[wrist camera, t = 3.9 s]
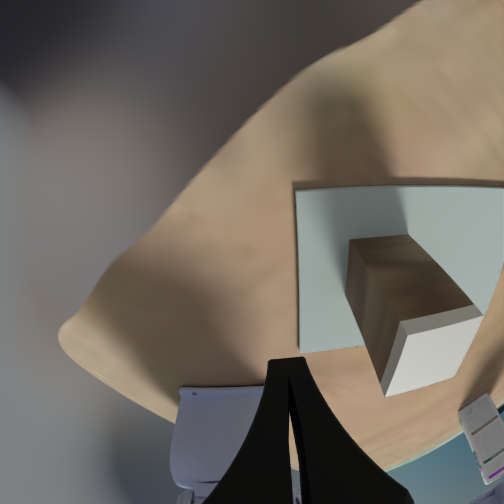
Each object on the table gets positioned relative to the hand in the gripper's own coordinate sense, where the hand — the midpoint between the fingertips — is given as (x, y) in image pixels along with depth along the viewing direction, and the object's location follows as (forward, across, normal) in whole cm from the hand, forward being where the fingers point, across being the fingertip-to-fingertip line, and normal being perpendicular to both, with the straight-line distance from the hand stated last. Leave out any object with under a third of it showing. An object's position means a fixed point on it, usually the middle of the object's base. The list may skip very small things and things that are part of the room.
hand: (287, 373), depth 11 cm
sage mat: (+8, -10, +1) cm, 13 cm away
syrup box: (+8, -30, +29) cm, 43 cm away
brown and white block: (+7, -6, 0) cm, 10 cm away
